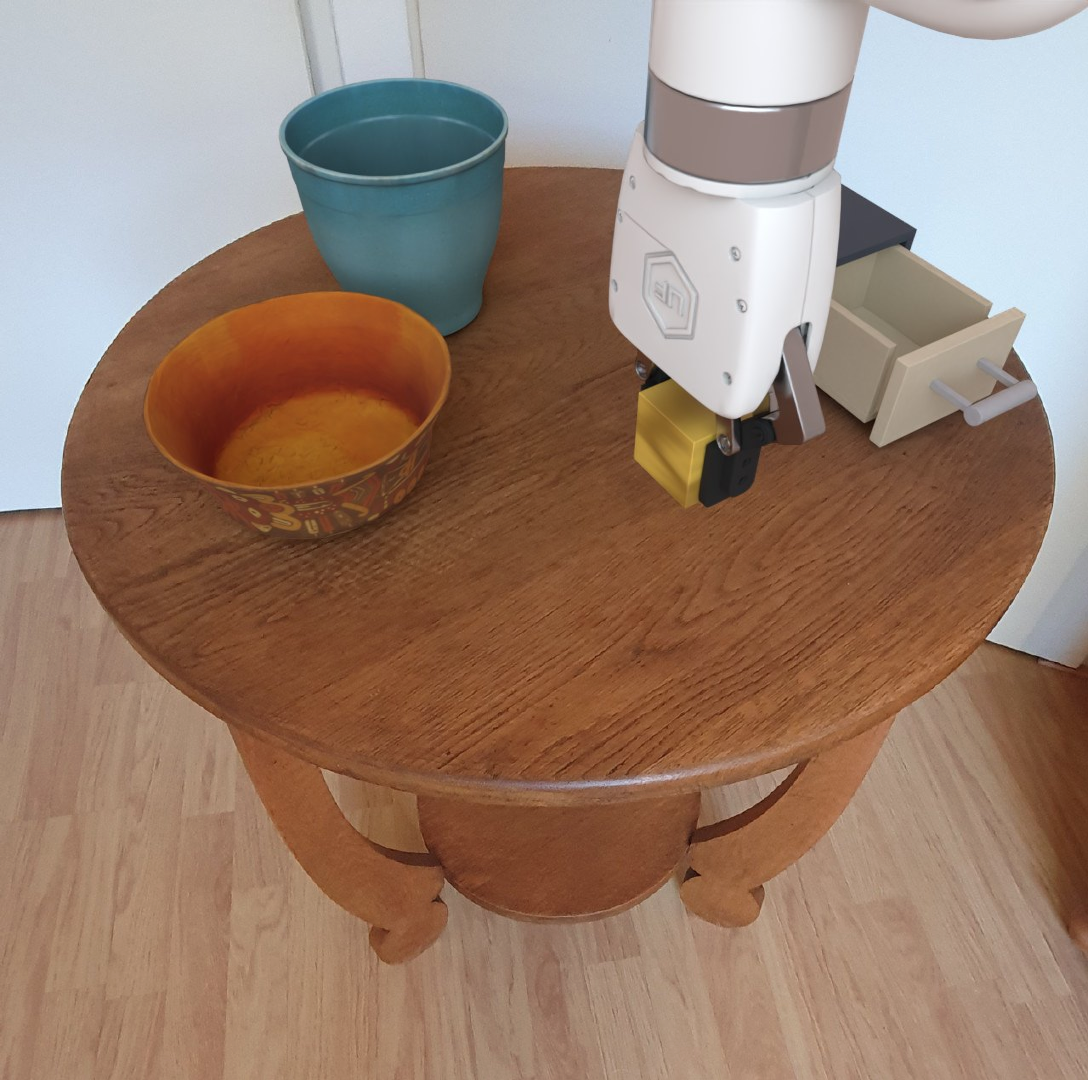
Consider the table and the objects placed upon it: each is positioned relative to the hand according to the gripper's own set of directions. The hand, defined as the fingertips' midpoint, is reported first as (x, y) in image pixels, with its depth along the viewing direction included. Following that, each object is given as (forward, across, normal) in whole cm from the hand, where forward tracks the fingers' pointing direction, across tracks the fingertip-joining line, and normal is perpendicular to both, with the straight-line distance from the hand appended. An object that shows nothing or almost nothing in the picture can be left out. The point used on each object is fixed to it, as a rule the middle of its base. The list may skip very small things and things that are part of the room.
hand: (693, 461), depth 49 cm
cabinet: (+16, -26, +31) cm, 43 cm away
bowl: (+16, -26, -13) cm, 33 cm away
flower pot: (+16, -43, +3) cm, 46 cm away
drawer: (+16, -11, +31) cm, 36 cm away
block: (0, 0, 0) cm, 0 cm away
